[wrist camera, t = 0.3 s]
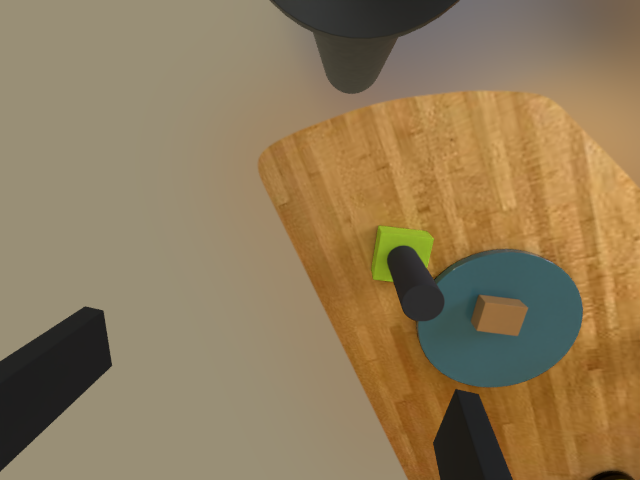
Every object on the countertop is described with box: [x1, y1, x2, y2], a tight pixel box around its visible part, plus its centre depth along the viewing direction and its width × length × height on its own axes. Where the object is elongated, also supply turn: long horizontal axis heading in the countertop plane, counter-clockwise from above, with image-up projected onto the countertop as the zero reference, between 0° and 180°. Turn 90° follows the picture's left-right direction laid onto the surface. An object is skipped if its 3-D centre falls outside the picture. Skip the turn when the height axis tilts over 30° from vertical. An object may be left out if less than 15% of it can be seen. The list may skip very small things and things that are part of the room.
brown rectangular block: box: [471, 295, 528, 336], centre depth 38 cm, size 4×5×2 cm
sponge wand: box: [371, 226, 445, 321], centre depth 32 cm, size 6×6×13 cm
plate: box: [416, 249, 583, 387], centre depth 40 cm, size 20×20×1 cm
